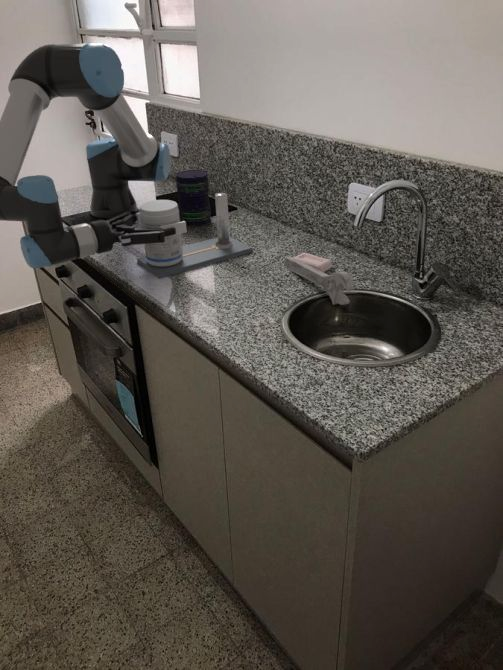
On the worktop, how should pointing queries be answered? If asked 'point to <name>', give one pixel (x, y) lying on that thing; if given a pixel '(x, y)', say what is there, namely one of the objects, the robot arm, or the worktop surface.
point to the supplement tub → (155, 217)
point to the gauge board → (198, 256)
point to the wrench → (323, 279)
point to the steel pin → (222, 220)
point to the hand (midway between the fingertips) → (172, 219)
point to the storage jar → (193, 197)
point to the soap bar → (315, 261)
